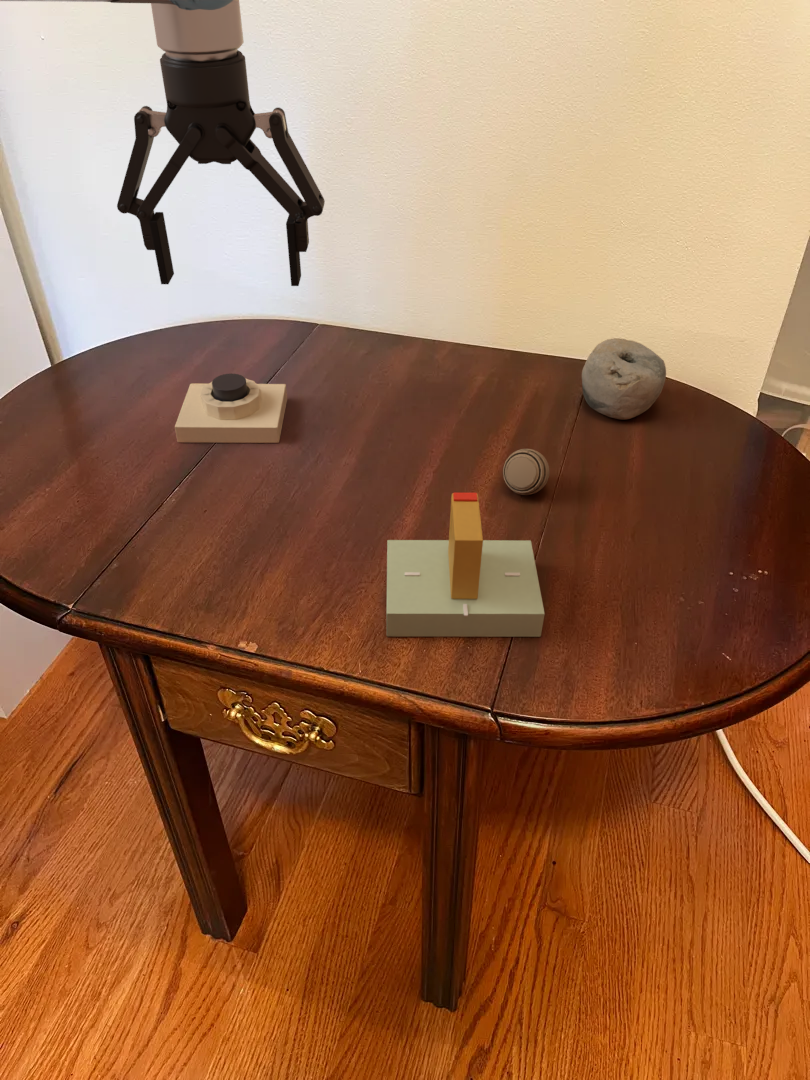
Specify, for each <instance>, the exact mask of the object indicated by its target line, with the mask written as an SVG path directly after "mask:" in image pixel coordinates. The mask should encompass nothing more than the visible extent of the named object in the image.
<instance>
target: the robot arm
mask: <svg viewBox="0 0 810 1080" xmlns="http://www.w3.org/2000/svg"><path fill="white" fill-rule="evenodd" d="M0 2H59V3H60V2H61V3H62V2H64V3H65V2H67V3H68V2H70V3H71V2H74V3H75V2H82V3H83V2H85V3H87V2H89V3H90V2H91V3H94V2H95V3H113V4H150V6H151V13H152V19H153V27H154V33H155V39H156V46H157V47H158V48H159V49H160V50H161V51H163V52H164V53H163V54H161V57H160V59H159V63H160V70H161V76H162V83H163V89H164V93H165V100H166V112H165V111H157V110H153V109H152V107H150V106H148V105H144V106H142V107H141V108H140V109H139V110H138V111H137V112H136V113H135V114H134V117H133V121H134V122H133V123H134V134H135V139H134V143H133V145H132V150H131V154H130V157H129V161H128V164H127V168H126V171H125V175H124V178H123V182H122V186H121V189H120V193H119V197H118V200H117V204H116V208H117V210H118V212H120V214H130V215H132V216H135V218H137V220H138V221H139V226H140V230H141V235H142V239H143V245H144V247H145V249H146V250H147V251H154V254H155V260H156V265H157V270H158V275H159V280H160V285H170V283H171V281H172V279H173V276H174V275H175V271H174V266H173V260H172V254H171V248H170V243H169V237H168V232H167V225H166V221H165V215H164V212H163V211H155V210H156V207H157V206H158V204H159V203H160V201H161V200H162V198H163V197H164V195H165V193H167V191H168V189H169V188H170V186H171V184H172V183H173V181H174V180H175V178H176V177H177V176H178V174H179V172H180V171H181V169H182V168H183V166H184V165H185V163H186V161H187V160H188V158H190V159H192V161H195V162H197V164H198V165H207V164H211V163H217V164H221V165H231V164H232V163H234V162H235V161H238V163H239V164H240V165H242V167H243V168H244V169H245V170H247V171H249V172H250V173H251V174H252V176H254V178H255V179H257V181H258V182H259V183H260V184H261V185H262V186H263V187H264V189H265V190H266V191H267V192H268V193H269V194H270V195H271V196H272V197H273V198H274V200H275V201H276V202H277V203H278V204H279V205H280V206H281V207H282V208H283V210H284V211H286V213H287V214H288V217H287V219H286V222H285V229H286V239H287V240H286V241H287V250H288V251H287V252H288V263H289V275H290V286H291V287H299V286H300V281H301V279H302V268H301V267H302V266H301V255H300V253H306V252H307V250H308V248H309V244H310V237H309V236H310V233H309V221H308V220H309V219H310V218H312V217H315V216H316V217H318V216H319V217H320V216H321V215H322V214H323V212H324V211H323V210H324V207H325V198H324V196H323V194H322V192H321V191H320V189H319V186H318V185H317V183H316V181H315V179H314V178H313V176H312V174H311V172H310V170H309V168H308V167H307V164H306V162H305V161H304V159H303V157H302V155H301V153H300V151H299V150H298V147H297V146H296V144H295V142H294V140H293V138H292V137H291V135H290V133H289V129H288V123H287V117H286V112H285V111H284V109H283V108H281V107H278V106H277V107H275V108H274V109H273V110H272V111H268V112H258V113H255V111H254V109H253V108H252V104H251V101H250V92H249V82H248V74H247V73H248V72H247V64H246V63H247V62H246V56H245V55H244V54H243V53H242V51H241V50H239V49H240V48H241V47H242V46H243V44H244V34H243V33H244V32H243V24H242V14H241V5H240V4H241V3H240V0H0ZM164 127H165V128H166V130H167V131H168V133H170V135H171V136H172V138H173V139H174V140H176V142H177V143H178V146H177V147H176V149H175V151H174V152H173V153H172V155H171V157H170V159H169V160H168V162H167V163H166V165H165V166H164V168H163V169H162V171H161V173H160V174H159V175H158V177H157V179H156V180H155V182H154V184H153V185H152V187H151V188H150V190H149V191H148V193H147V195H146V196H145V198H144V199H142V198H139V197H138V196H139V195H138V194H139V191H140V188H141V184H142V182H143V177H144V174H145V171H146V167H147V164H148V161H149V157H150V153H151V150H152V148H153V147H152V146H153V143H154V139H155V138H156V137H157V136H159V134H160V133H161V131H162V128H164ZM256 129H260V130H261V131H262V132H263V134H264V135H265V137H266V138H267V139H271V140H272V142H273V146H274V148H275V149H276V151H277V153H278V155H279V157H280V159H281V161H282V162H283V164H284V166H285V168H286V169H287V171H288V173H289V175H290V177H291V178H292V179H291V180H293V183H294V184H295V186H296V188H297V189H298V191H299V193H300V195H301V196H302V197H300V196H299V194H297V192H296V191H295V190H294V189H293V188H292V187H291V185H289V183H288V182H287V181H286V180H285V179H284V178H283V176H282V175H280V174H281V173H279V172H278V171H277V169H276V168H275V167H273V165H272V164H271V163H270V162H269V161H268V160H267V159H266V157H264V155H263V154H262V152H261V150H260V148H259V147H258V146H257V145H256V144H255V142H254V141H253V140H252V139H251V138H252V136H253V134H254V133H255V131H256Z"/></svg>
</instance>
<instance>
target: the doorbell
mask: <svg viewBox="0 0 810 1080" xmlns="http://www.w3.org/2000/svg"><path fill="white" fill-rule="evenodd" d="M244 378H245V379H246V384H247V392H248V394H247V396H246V397H244V398H243V399H240V400H237V401H233V402H222V401H219V400H216V399H215V398H214V394H213V387H212V381H211V382H209V383H190V384H189V387H188V389H187V392H186V394H185V397H184V399H183V403H182V406H181V408H180V411H179V414H178V417H177V419H176V422H175V424H174V431H175V432H174V433H175V437H176V441H177V443H210V444H211V443H212V444H213V443H215V444H217V443H221V444H222V443H226V444H227V443H231V444H234V443H235V444H237V443H238V444H242V443H245V444H253V443H254V444H279V443H280V439H281V434H282V429H283V423H284V418H285V413H286V407H287V403H288V392H287V384H286V383H257V382H255V380H252V379H249V378H246V377H244Z"/></svg>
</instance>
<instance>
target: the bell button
mask: <svg viewBox="0 0 810 1080" xmlns="http://www.w3.org/2000/svg"><path fill="white" fill-rule="evenodd" d="M245 378H246V377H245V376H243V375H241V374H239V373H231V372H230V373H223V374H220V375H218V376H216V377H215V378H213V380H212V381H211V382H212V387H213V394H214V398H215V399H216V400H219V401H222V402H233V401H237V400H240V399H243V398H244V397H246V396H247V394H248V392H247V384H246V379H247V378H246V379H245Z"/></svg>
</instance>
